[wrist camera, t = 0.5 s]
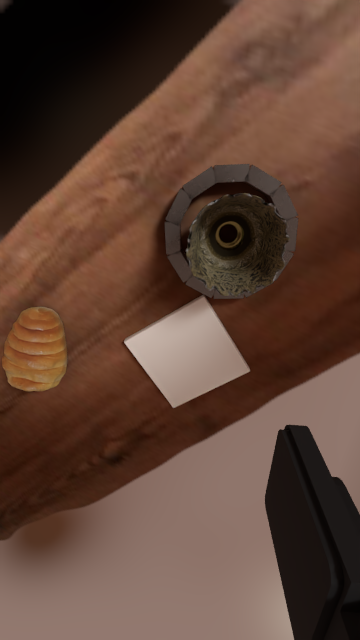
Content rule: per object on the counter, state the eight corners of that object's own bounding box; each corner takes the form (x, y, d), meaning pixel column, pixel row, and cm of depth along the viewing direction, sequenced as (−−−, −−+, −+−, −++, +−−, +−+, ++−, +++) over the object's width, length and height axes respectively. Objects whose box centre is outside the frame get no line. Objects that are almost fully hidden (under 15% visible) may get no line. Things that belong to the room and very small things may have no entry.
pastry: (15, 296, 34) (-6, 308, 31) (77, 312, 35) (64, 326, 31) (11, 368, 38) (-8, 387, 34) (67, 382, 38) (54, 402, 35)
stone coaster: (204, 294, 33) (204, 296, 32) (249, 367, 36) (250, 371, 35) (125, 338, 35) (123, 342, 35) (173, 403, 38) (173, 408, 38)
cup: (256, 277, 32) (274, 305, 25) (183, 265, 32) (179, 289, 25) (277, 198, 29) (303, 202, 22) (196, 185, 29) (196, 184, 22)
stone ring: (255, 137, 27) (259, 133, 25) (311, 254, 31) (318, 258, 29) (143, 212, 30) (140, 214, 28) (206, 312, 34) (206, 319, 32)
